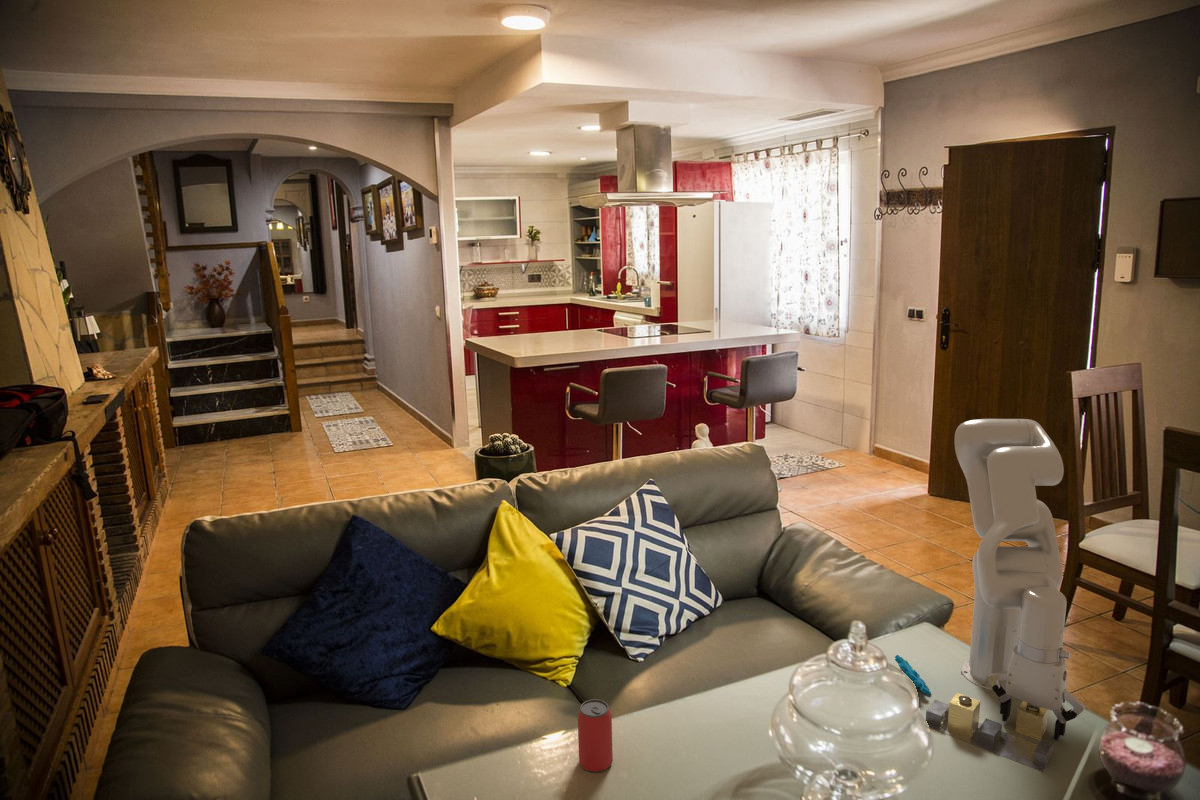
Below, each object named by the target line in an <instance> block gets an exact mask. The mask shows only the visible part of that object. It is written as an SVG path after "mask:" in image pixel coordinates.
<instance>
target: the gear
mask: <svg viewBox="0 0 1200 800" xmlns="http://www.w3.org/2000/svg"><path fill="white" fill-rule="evenodd" d="M894 658H895V659H894V661H895V662H896V663H897V664H898V667H899V670H900V671H903V672H904V673H905V674H906V675H907V676H908V677H909V678H910V679H911V680H912V682H914V683H913V684H914V685H915V687H917V688H919V689H920V691H921V692H922V693H923V694H925V695H927V696H928V695H931V694H932V692H931V690H930V688H929V687H928V686H927V683H926V682H925V680H924V679H923V678H921V675H920V674H919V673H918V671H916V669H913V667H912V666H911V664H910V663H909V661H908V660H907V659H904V658H903V657H902V656H900V655H898V654H897V655H895V656H894Z"/></svg>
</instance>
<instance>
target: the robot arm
mask: <svg viewBox="0 0 1200 800" xmlns="http://www.w3.org/2000/svg"><path fill="white" fill-rule="evenodd" d="M954 450H955V455H956V459H957V461H958V463H959V466H960V468H961V470H962V472H963V474H964V477H965V480H966V484H967V489H968V496H969V497H968V498H969V504H970V509H971V515H972V516H971V517H972V522H973V523H972V524H973V527H974V531H975V533H976V534H977V535H978V537H979V538H981V541H980V543H979V546H978V550H977V551H975V553H974V555H973V557H972V566H971V567H972V575H973V583H974V584H973V585H974V586H973V587H974V599H973V600H974V601H973V610H972V611H973V613H972V614H973V615H972V625H971V637H970V639H971V640H970V650H969V660H968V661H967V662H964V664H962V665H961V669H960V675H962V676H963V677H964V678H965V679H966V680H967V681H969V682H970V683H972V684H973V685H975V686H978V687H980V688H983V689H986V690H990V691H993V692H994V693H995V694H996V696H997V697H998V701H999V702H1000V708H999V714H1000V715H1002V717H1001V720H1002V722H1007V720H1008V719H1009V717H1010V716H1011V710H1012V698H1014V699H1016V700H1019V701H1021V702H1022V701H1025V702H1028V703H1031V704H1033V705H1036V706H1039V707H1042V708H1045V709H1048V711H1052V712H1053V714H1054V715H1055V717H1056V720H1055V723H1054V733H1053V739H1054V740H1055V741H1057V742H1058V741H1059V739H1060V737H1061V736H1062V737H1064V736H1065V734H1066V725H1067V722H1069V721H1071V720H1075V719H1076V718H1077V717H1078V716H1080V714H1081V713H1082V712H1083V711H1084V710H1085V709H1086V705H1085V704H1084V703H1083V702H1082V701H1080V700H1079V699H1078V698H1077V697H1075V696H1074V695H1073V694H1072V693H1071V692H1070V691H1069V690H1068V689H1067V688H1068V687H1067V685H1068V684H1067V683H1068V679H1067V678H1068V675H1067V673H1068V671H1067V664H1066V663H1067V662H1066V659H1067V660H1070V658H1071V652H1069V651H1067V650H1065V648H1064V644H1063V643H1064V642H1063V641H1064V633H1065V622H1066V612H1067V603H1068V602H1067V598H1066V596H1065V594H1064V593H1062V592H1061V591H1059V589H1058V588H1060V586H1061V584H1062V581H1063V566H1062V560H1061V554H1060V548H1059V542H1058V538H1057V532H1056V527H1055V522H1054V518H1053V514H1052V513H1051V509H1049V507H1048V506H1047V504H1045V502H1043V501H1041V500H1040V499H1038V498H1037V492H1036V491H1037V490H1036V486H1041V487H1043V486H1046V487H1048V486H1050V487H1053V486H1057V485H1058V484H1060V483H1061V481H1062V480H1063V477H1064V473H1065V471H1064V469H1065V468H1064V462H1063V459H1062V455H1061V453H1060V452H1059V449H1058V448H1057V446H1056V445H1055V443H1054V441H1053V440H1052V439H1051V437H1050V436H1049V435H1048V433H1047V432H1046V431H1045V429H1044V428H1043V427H1042V425H1041V424H1040V423H1038V422H1037V421H1036V420H1033V419H1027V418H980V419H979V418H977V419H970V420H966V421H964V422H962V423H960V424H959V425H958V426H957V427H956V430H955V433H954ZM1002 542H1024V543H1026V544H1027V546H1016V545H1015V546H1013V545H1011V546H1010V545H1009V546H1008V545H1005V546H1003V545H1001V543H1002ZM1065 702H1067V703H1068V704H1070V706H1072V708H1071V709H1068V710H1067V709H1066V707H1065V706H1064V704H1065Z"/></svg>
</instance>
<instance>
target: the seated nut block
mask: <svg viewBox="0 0 1200 800" xmlns="http://www.w3.org/2000/svg"><path fill="white" fill-rule="evenodd" d="M948 704H949V715H948V728H947V729H949V730H951V731H954V732H956V733H959V734H962V735H964V736H967V737H969V738H971V737H972V736H973V734H974V733H975V731H976V730H977V728H978V724H979V723H980V722H979V720H980V710H981V709H980V708H981V700H979V699H976V698H973V697H970V696H968V695H965V694H962V693H961V692H956V693H955V695H953V697H952V699H951V700H950V701H949V703H948Z"/></svg>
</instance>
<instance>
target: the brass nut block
mask: <svg viewBox="0 0 1200 800" xmlns="http://www.w3.org/2000/svg"><path fill="white" fill-rule="evenodd" d="M1048 718H1049V710H1048V709H1045V708H1042V707H1039V706H1036V705H1033V704H1031V703H1028V702H1025V701H1022V700H1021V702H1020V705H1019V706H1018V708H1017V712H1016V722H1015V732H1016V733H1019V734H1021V735H1024V736H1026V737H1030V738H1032V739H1036V740H1038V741H1040V740H1041V739H1043V737H1044V735H1045V733H1046V732H1047V726H1048Z"/></svg>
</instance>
